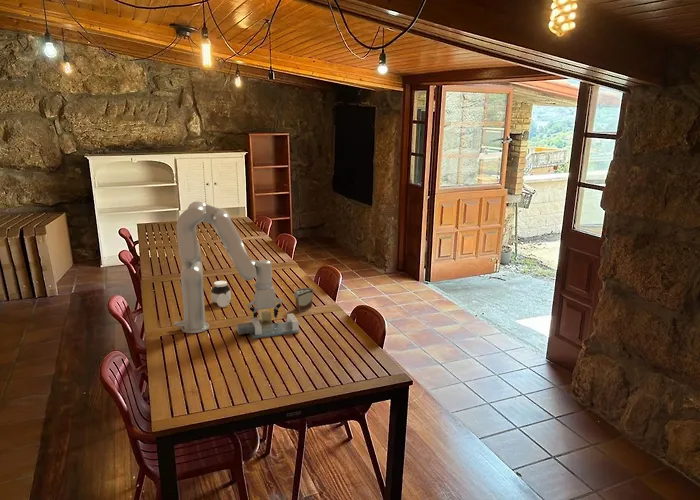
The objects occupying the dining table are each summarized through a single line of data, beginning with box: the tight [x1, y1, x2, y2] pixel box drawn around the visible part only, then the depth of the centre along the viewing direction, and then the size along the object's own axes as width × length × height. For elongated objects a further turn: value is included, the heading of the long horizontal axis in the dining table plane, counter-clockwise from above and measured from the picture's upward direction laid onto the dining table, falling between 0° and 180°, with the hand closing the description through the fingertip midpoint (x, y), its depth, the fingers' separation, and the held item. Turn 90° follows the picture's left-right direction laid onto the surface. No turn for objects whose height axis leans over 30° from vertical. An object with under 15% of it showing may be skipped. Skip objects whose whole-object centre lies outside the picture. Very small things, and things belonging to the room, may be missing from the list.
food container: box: [293, 287, 314, 313], centre depth 263 cm, size 12×6×10 cm, turn 141°
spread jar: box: [210, 280, 232, 308], centre depth 267 cm, size 12×11×12 cm
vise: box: [249, 312, 300, 340], centre depth 234 cm, size 22×11×6 cm, turn 110°
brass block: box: [258, 308, 272, 325], centre depth 244 cm, size 4×8×6 cm, turn 20°
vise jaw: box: [236, 316, 262, 335], centre depth 230 cm, size 10×11×4 cm
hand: (265, 318), depth 245 cm, fingers open, 9 cm apart
